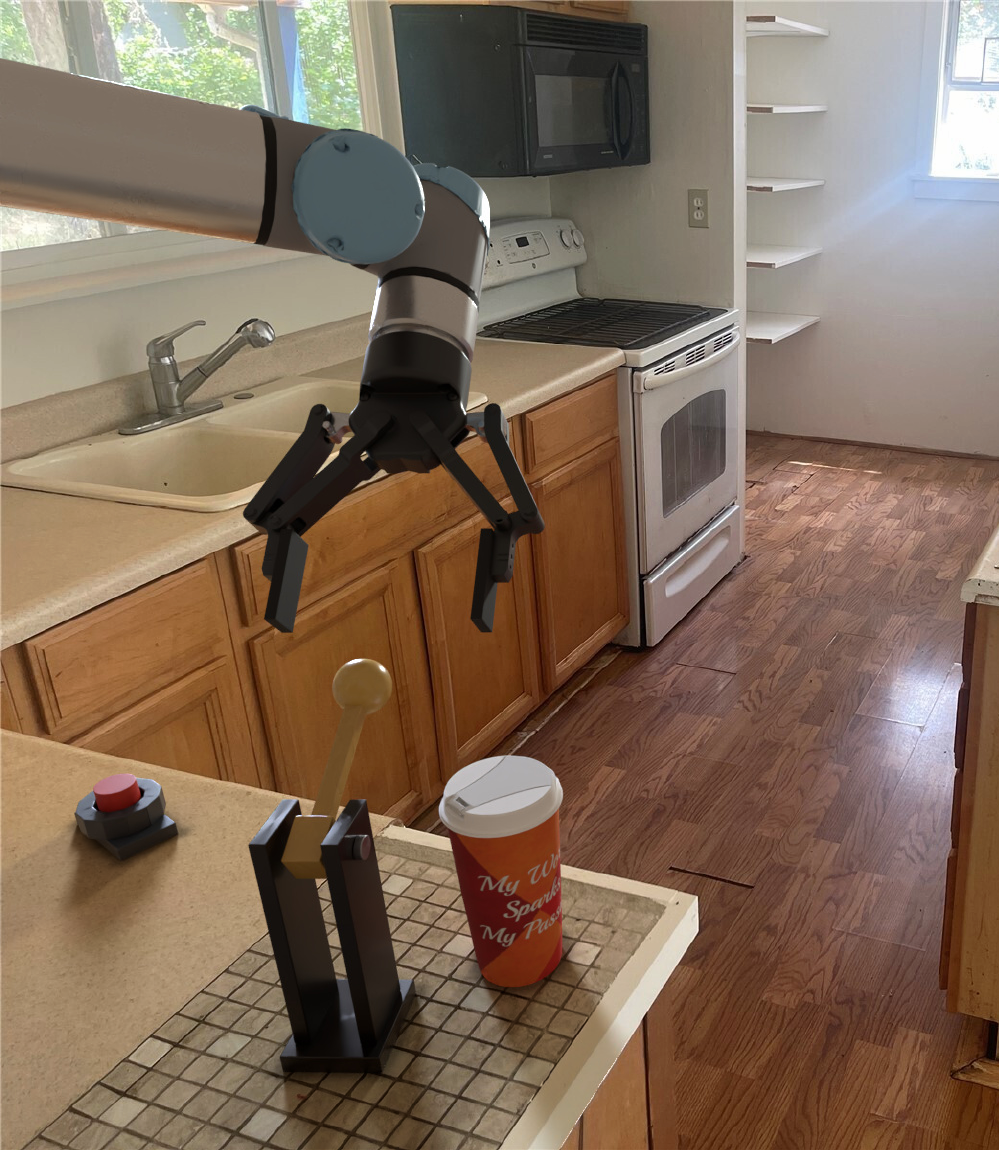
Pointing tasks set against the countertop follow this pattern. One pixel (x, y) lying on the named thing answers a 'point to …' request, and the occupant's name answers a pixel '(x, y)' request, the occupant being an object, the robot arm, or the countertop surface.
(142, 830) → the button base
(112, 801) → the set button
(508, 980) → the paper cup
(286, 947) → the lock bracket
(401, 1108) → the countertop surface
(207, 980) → the countertop surface
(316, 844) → the lever
